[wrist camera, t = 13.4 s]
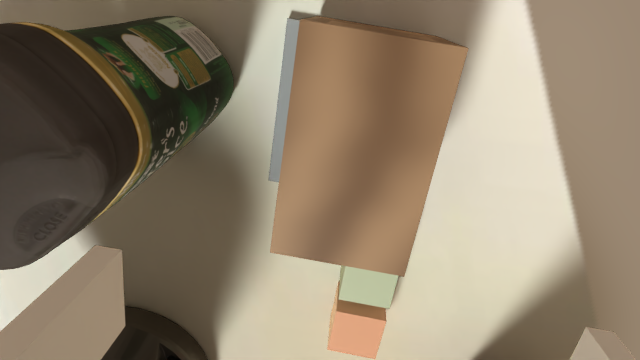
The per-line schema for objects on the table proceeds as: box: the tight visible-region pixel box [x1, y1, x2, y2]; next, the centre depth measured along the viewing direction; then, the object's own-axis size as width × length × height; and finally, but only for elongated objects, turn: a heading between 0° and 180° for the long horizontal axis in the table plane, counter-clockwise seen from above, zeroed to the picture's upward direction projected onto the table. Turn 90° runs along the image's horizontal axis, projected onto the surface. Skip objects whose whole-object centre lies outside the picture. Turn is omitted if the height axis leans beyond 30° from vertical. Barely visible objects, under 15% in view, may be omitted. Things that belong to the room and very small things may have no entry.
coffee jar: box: [0, 16, 234, 270], centre depth 23 cm, size 10×8×19 cm
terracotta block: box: [327, 282, 386, 359], centre depth 36 cm, size 4×4×4 cm
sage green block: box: [339, 266, 398, 309], centre depth 34 cm, size 4×4×4 cm
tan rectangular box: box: [270, 16, 468, 277], centre depth 26 cm, size 8×13×9 cm, turn 171°
